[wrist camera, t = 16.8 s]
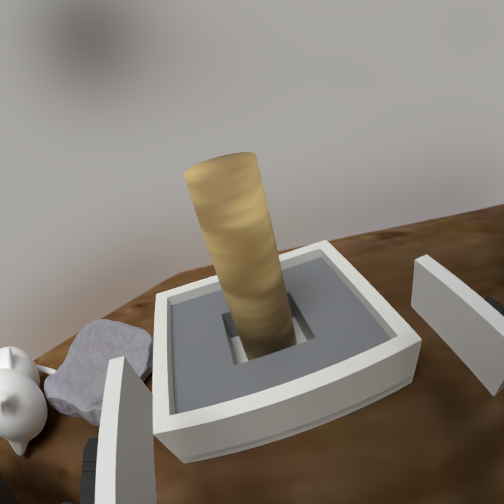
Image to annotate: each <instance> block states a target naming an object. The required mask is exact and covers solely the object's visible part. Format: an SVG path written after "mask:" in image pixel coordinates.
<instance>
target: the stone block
mask: <svg viewBox="0 0 504 504" xmlns="http://www.w3.org/2000/svg"><path fill="white" fill-rule="evenodd" d="M153 342H154V339H153V338H152V337H151V335H150V334H149V333H148V332H146V331H144V330H143V329H140V328H138V327H134V326H130V325H127V324H124V323H121V322H118V321H117V322H112V321H110V320H107V319H102V320H96V321H94V322H91V323H89V324H88V325H86V326H85V327H84V328H82V330H81V331H80V333H79V334H78V335H77V337H76V339H75V340H74V341H73V343H72V344H71V346H70V349H69V352H68V355H67V357H66V359H65V361H64V363H63V364H62V365H61V366H60V367H59V368H58V370H57V371H56V372H55V373H53V374H51V375H49V376H48V377H47V378H46V380H45V382H44V393H45V396H46V398H47V401H48V402H49V403H50V405H51V406H52V407H53V408H55V409H56V410H57V411H58V412H59V413H61V414H64V415H69V416H74V417H81V418H84V419H85V420H87V421H88V422H89V423H90V424H92V425H95V426H96V427H100V419H101V411H102V403H103V396H104V389H105V382H106V376H107V370H108V364H109V360H111V359H115V358H119V357H123V356H125V358H126V359H127V360H128V362H129V363H130V365H131V366H132V368H133V369H134V370H135V372H136V373H137V374H138V376H139V377H140V379H141V380H142V381H143V382H144V381H145V379H146V378H147V377H148V376H149V375H150V374H151V373H152V372H153Z"/></svg>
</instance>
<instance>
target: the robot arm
mask: <svg viewBox="0 0 504 504" xmlns="http://www.w3.org/2000/svg"><path fill="white" fill-rule="evenodd" d="M411 307H412V308H413V309H414V310H415V311H416V312H417V313H418V314H419V315H420V316H421V317H422V318H423V319H424V320H425V321H426V322H427V323H428V324H429V325H430V326H431V327H432V328H433V329H434V331H435V332H436V333H437V334H438V335H439V336H440V337H441V338H442V339H443V340H444V341H445V342H446V343H447V344H448V345H449V347H450V348H451V349H452V350H453V351H454V352H455V353H456V354H457V355H458V356H459V358H460V359H461V360H462V361H463V362H464V363H465V364H466V365H467V366H468V368H469V369H470V370H471V371H472V372H473V373H474V374H475V376H476V377H477V378H478V379H479V380H480V381H481V383H482V384H483V385H484V386H485V387H486V388H487V390H488V391H489V392H490V393H491V394H492V396H493V397H494V396H495V395H497V394H498V393H499V392H500V391H501V390H503V389H504V306H503V305H502V304H501V303H499V302H498V301H496V300H494V299H491V298H489V297H487V298H485V299H483V298H482V297H480V296H479V295H478V294H477V293H476V292H474V291H473V290H472V289H471V288H469V287H468V286H467V285H466V284H464V283H463V282H462V281H461V280H459V279H458V278H457V277H456V276H454V275H453V274H452V273H451V272H449V271H448V270H447V269H445V268H444V267H443V266H441V265H440V264H439V263H438V262H436V261H435V260H434V259H432V258H431V257H430V256H428V255H424V256H422V257H420V258H417V259H415V263H414V277H413V289H412V299H411ZM61 504H72V503H70V502H63V503H61ZM80 504H157V497H156V485H155V469H154V448H153V394H152V393H151V392H150V391H149V389H148V388H147V387H146V385H145V384H144V383H143V381H142V380H141V379H140V377H139V376H138V374H137V373H136V372H135V370H134V369H133V368H132V366H131V365H130V363H129V362H128V360H127V359H126V358H125V356H123V357H119V358H115V359H111V360H109V364H108V370H107V376H106V382H105V389H104V396H103V403H102V411H101V419H100V428H99V438H90V439H89V440H88V442H87V444H86V446H85V448H84V452H83V464H82V474H81V488H80Z"/></svg>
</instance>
